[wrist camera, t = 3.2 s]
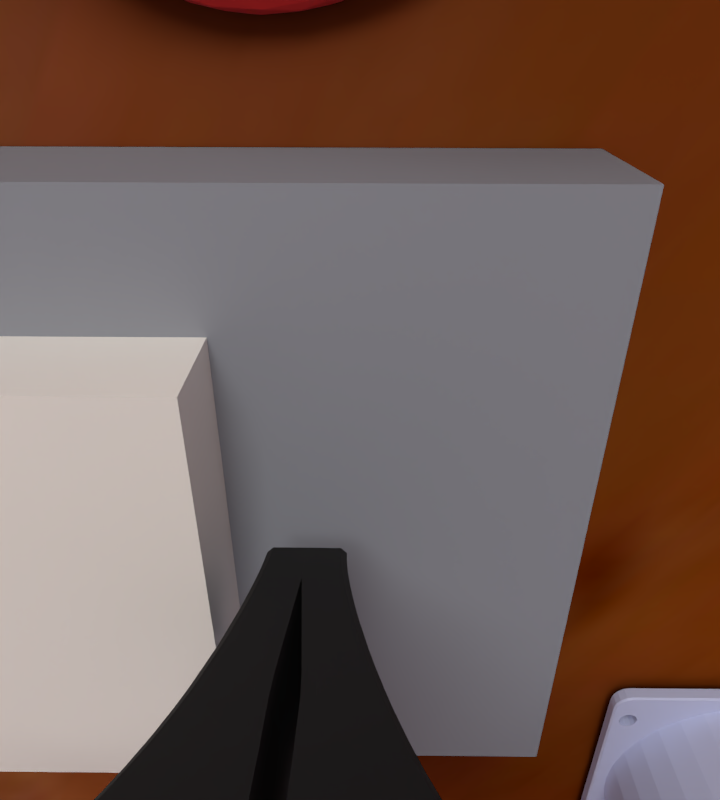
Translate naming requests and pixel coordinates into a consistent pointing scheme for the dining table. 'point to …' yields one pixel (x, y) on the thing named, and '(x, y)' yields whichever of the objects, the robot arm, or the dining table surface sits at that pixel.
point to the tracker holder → (263, 5)
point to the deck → (375, 373)
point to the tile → (106, 544)
